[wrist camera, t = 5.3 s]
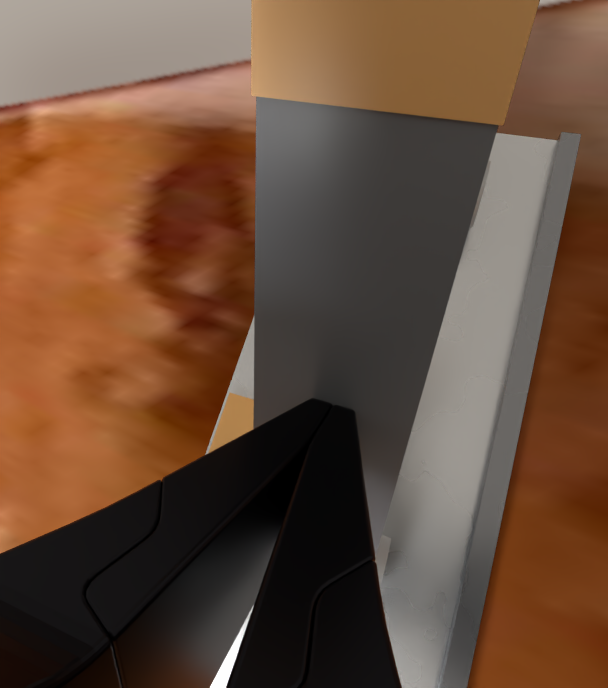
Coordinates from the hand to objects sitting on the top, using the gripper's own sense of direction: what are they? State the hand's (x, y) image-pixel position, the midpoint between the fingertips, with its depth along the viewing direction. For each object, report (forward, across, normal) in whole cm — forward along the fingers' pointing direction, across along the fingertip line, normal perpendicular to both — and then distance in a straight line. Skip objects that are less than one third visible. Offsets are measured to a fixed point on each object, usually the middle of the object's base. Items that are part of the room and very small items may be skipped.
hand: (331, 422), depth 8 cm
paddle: (+1, 0, +5) cm, 6 cm away
